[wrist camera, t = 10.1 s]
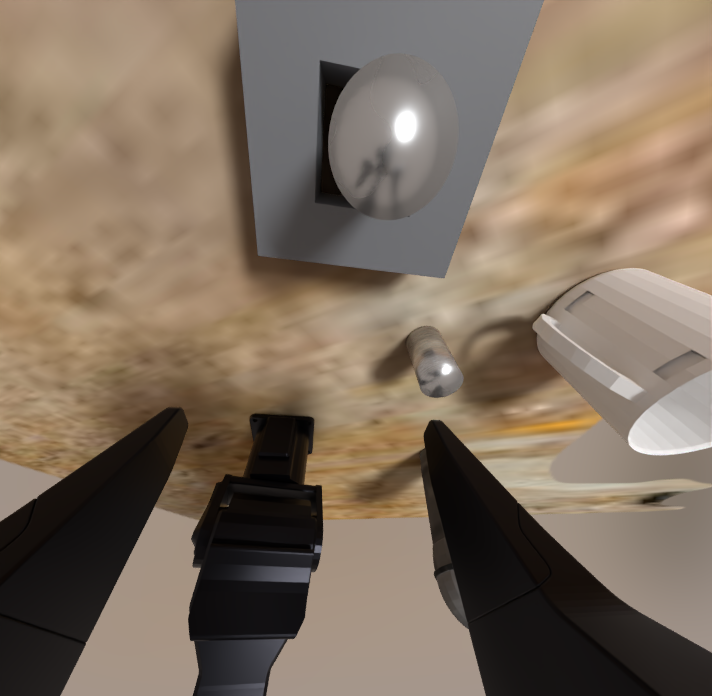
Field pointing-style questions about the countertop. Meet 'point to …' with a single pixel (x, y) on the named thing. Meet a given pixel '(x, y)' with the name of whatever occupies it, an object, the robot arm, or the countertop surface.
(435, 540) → the beverage cup
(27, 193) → the countertop surface
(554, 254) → the countertop surface
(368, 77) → the long pin
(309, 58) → the hole block
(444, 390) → the short pin
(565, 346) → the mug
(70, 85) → the countertop surface
